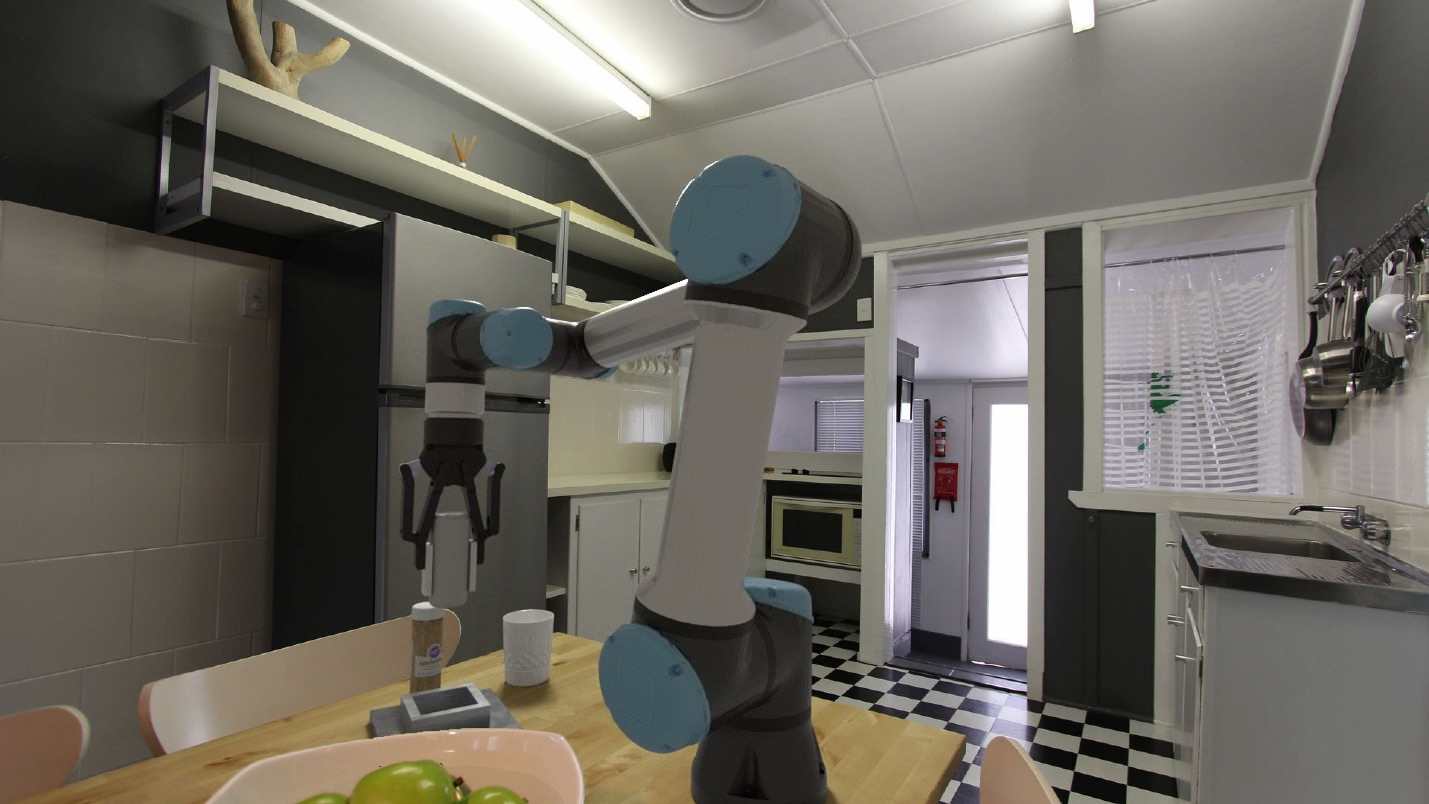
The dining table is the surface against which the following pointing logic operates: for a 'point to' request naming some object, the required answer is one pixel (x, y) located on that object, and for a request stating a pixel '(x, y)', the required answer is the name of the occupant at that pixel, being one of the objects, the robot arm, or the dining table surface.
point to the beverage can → (450, 559)
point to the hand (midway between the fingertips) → (448, 591)
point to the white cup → (527, 646)
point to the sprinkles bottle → (426, 647)
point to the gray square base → (443, 711)
